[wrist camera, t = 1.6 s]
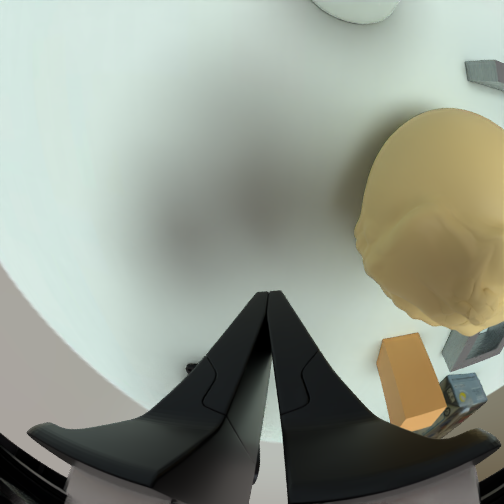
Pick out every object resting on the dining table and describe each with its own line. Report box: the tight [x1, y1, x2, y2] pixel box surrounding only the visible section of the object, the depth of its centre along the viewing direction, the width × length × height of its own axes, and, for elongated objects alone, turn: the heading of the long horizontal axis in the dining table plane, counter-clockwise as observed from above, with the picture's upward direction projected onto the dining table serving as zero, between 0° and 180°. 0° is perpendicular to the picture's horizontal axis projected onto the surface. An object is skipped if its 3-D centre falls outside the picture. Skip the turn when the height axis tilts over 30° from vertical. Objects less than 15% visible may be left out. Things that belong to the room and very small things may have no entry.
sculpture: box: [354, 108, 504, 336], centre depth 11 cm, size 12×12×11 cm
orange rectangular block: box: [376, 333, 447, 431], centre depth 20 cm, size 4×4×9 cm
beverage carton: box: [412, 373, 487, 439], centre depth 29 cm, size 8×19×7 cm, turn 169°
